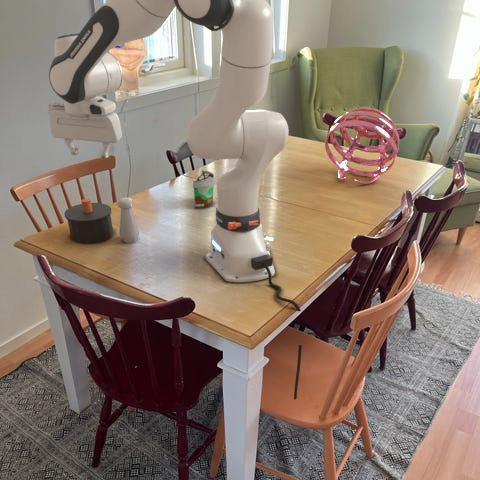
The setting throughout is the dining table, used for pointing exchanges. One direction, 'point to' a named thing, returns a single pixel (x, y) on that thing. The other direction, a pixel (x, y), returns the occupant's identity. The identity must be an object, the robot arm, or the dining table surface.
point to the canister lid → (88, 212)
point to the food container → (204, 190)
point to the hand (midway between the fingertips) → (90, 155)
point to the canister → (91, 230)
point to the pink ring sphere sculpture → (355, 144)
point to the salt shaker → (127, 221)
